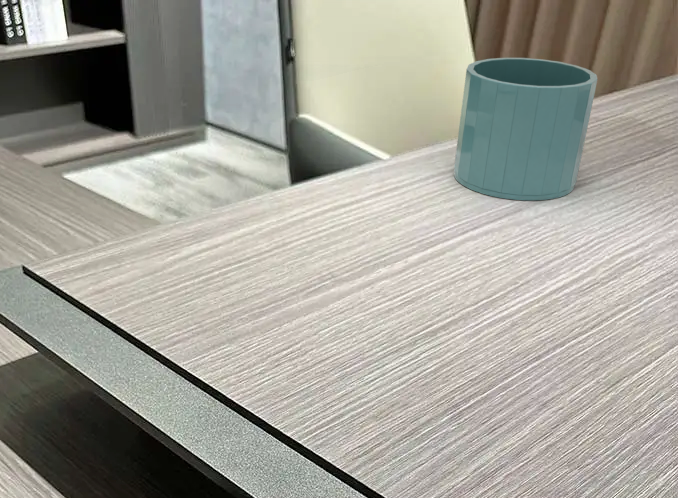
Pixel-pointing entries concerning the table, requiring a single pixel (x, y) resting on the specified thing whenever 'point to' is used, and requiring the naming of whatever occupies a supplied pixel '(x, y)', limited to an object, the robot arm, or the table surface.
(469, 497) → the table surface
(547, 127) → the canister
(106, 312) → the table surface
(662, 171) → the table surface
